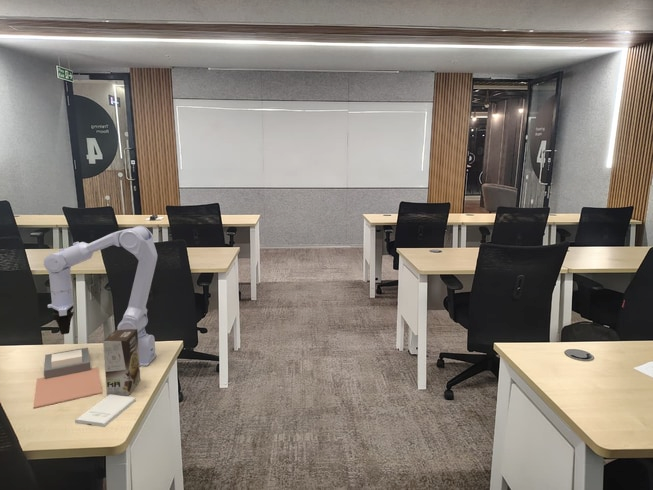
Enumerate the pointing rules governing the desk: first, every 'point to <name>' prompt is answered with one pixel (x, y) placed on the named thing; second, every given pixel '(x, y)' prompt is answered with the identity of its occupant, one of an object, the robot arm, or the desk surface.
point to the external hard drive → (106, 410)
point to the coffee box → (121, 362)
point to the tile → (66, 358)
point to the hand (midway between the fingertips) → (65, 330)
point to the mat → (67, 388)
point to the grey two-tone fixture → (67, 369)
